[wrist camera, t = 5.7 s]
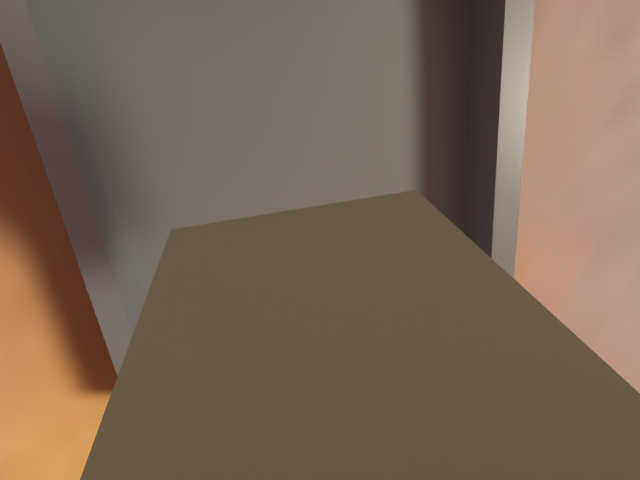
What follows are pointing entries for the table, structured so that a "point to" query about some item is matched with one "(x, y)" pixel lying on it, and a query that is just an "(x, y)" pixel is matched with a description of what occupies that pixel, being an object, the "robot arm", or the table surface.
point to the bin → (264, 118)
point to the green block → (355, 360)
